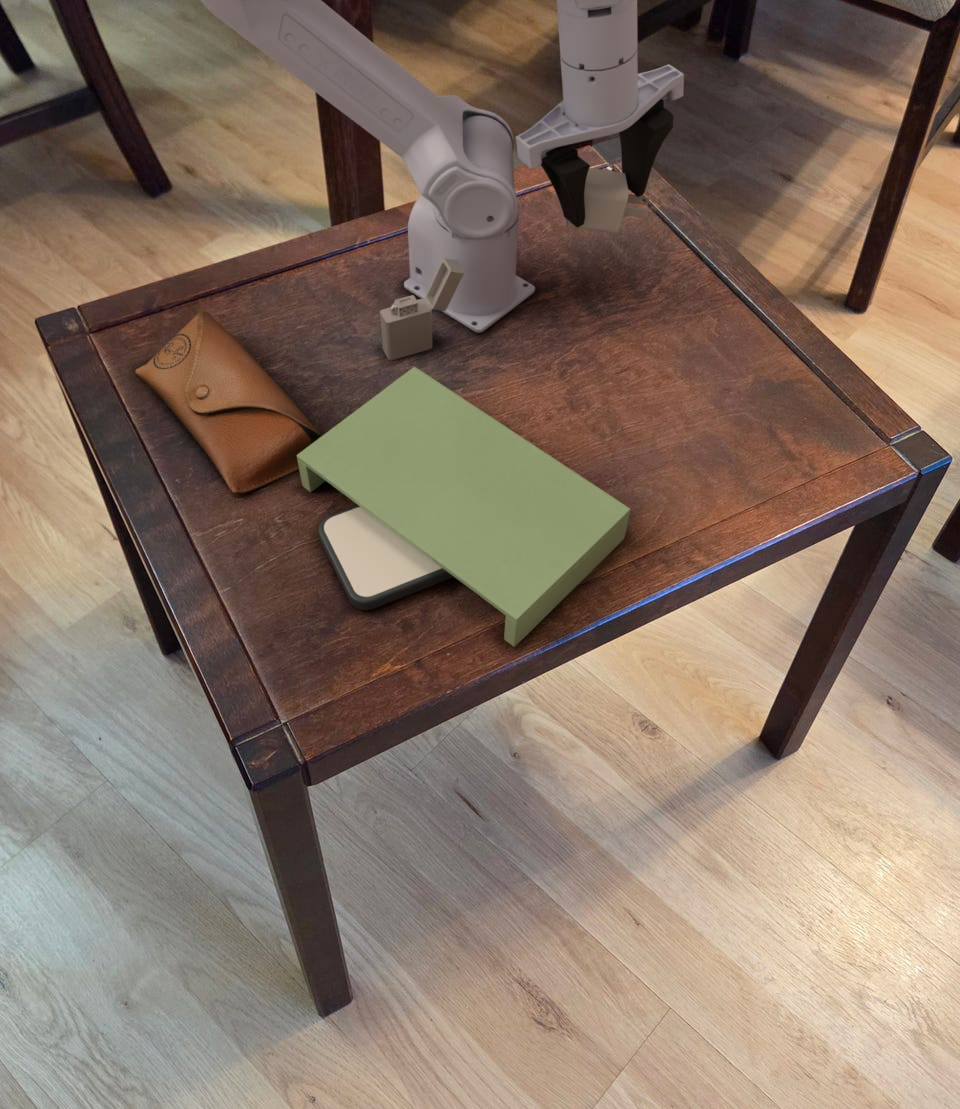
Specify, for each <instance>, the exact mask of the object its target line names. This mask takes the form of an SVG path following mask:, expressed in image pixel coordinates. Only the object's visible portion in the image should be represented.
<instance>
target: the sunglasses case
mask: <svg viewBox="0 0 960 1109" xmlns="http://www.w3.org/2000/svg"><path fill="white" fill-rule="evenodd" d="M134 373H135V375H136V376H137V377H138V378H139V379H140V380H141V381H143V383H145V384H146V385H147V386H148V387H149V388H151V389H152V390H153V391H154V392H155V393H156V394H157V395H158V397H160V398H161V399H162V400H163V401H164V403H166V405H167V406H168V407H169V408H170V409H171V411H172V412H173V413H174V415H175V416H176V417H177V418H178V419H179V421H180V422H181V423H182V424H183V425H184V427H185V428H186V429H187V430H188V433H190V434H191V435H192V437H193V438H194V439H195V441H196V442H197V444H199V445H200V447H201V448H202V449H203V451H204V452H205V454H206V455H207V457H209V459H210V460H211V461H212V463H213V464H214V466H215V468H216V469H217V471H218V472H219V474H220V476H221V477H222V479H223V481H224V482H225V484H226V486H227V488H228V489H229V491H230V492H231V493H232V494H234V495H235V494H236V495H242V494H248V493H249V492H252V491H255V490H258V489H260V488H263V487H265V486H268V485H270V484H273V483H274V482H277V481H279V480H281V479H283V478H285V477H287V476H290V475H291V474H293V473H296V472H297V471H299V465H298V459H297V455H298V454H299V453H300V452H302V451H303V450H304V449H306V448H307V447H308V446H310V445H311V444H312V443H314V442H315V441H316V440H318V439H319V438H320V437H322V436H323V435H322V434H321V432H319V431H318V430H317V428H315V427H314V425H313V424H312V423H311V421H310V420H309V419H308V418H307V417H306V415H305V414H304V413H303V412H302V411H301V409H300V408H299V407H298V406H297V405H296V403H295V402H293V400H292V399H291V398H290V396H288V394H287V393H286V392H285V391H284V390H283V389H282V388H281V386H279V384H277V383H276V381H275V380H274V379H273V378H272V377H271V376H270V375H269V374H268V373H267V372H266V370H265V369H264V368H263V367H262V366H261V365H260V364H259V363H258V362H257V360H255V359H254V357H252V355H251V354H250V353H249V352H248V351H247V350H246V349H245V348H244V346H243V345H242V344H241V343H240V342H239V341H238V340H237V339H236V338H235V337H234V336H233V335H232V334H231V333H230V332H229V331H228V330H227V329H225V327H224V326H223V325H222V324H221V323H220V322H218V321H217V320H216V319H215V318H214V317H213V316H212V315H211V313H210V312H208V311H207V310H205V309H203V308H199V309H197V314H196V315H195V316H194V317H193V318H192V319H190V321H189V322H188V323H187V324H186V325H184V326H183V328H182V329H180V330H179V332H177V333H176V334H175V335H174V336H173V337H172V338H171V339H170V340H169V341H168V342H167V343H166V344H165V345H164V346H163V347H162V348H161V349H160V350H159V351H158V352H157V353H156V354H155V355H154V356H153V357H151V359H150V360H149V361H147V363H146V364H143V365H141V366H139V367H137V368H136V369H135V371H134Z"/></svg>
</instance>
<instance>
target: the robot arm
mask: <svg viewBox="0 0 960 1109" xmlns="http://www.w3.org/2000/svg"><path fill="white" fill-rule="evenodd" d="M200 1H201V3H202V4H203V5H204V8H206V9H207V10H208V11H209V12H210V13H211V14H212V15H214V16H215V17H216V18H218V19H219V20H220V21H221V22H222V23H224V24H225V25H226V26H228V27H229V28H230V29H232V30H233V31H234V32H236V33H237V34H238V35H239V36H241V37H242V38H243V39H245V40H246V41H248V42H249V43H250V44H251V45H252V46H254V47H256V48H257V49H258V50H260V51H261V52H262V53H263V54H264V55H266V56H267V57H269V58H270V59H272V60H273V61H274V62H275V63H277V64H278V65H279V66H281V68H283V69H284V70H286V71H287V72H288V73H289V74H291V75H293V77H295V78H296V79H298V80H299V81H300V82H301V83H303V84H304V85H305V86H307V87H308V88H309V89H311V90H312V91H313V92H315V93H316V94H318V95H319V96H320V97H321V98H323V99H324V100H325V101H326V102H328V103H329V104H330V105H332V106H333V107H334V108H336V109H337V110H338V111H340V112H341V113H342V114H343V115H345V116H346V117H347V118H348V119H350V120H352V121H353V122H354V123H356V124H357V125H358V126H360V128H362V129H364V130H365V131H366V132H367V133H369V134H370V135H371V136H372V137H374V138H375V139H377V140H378V141H379V142H381V144H383V145H385V146H386V147H387V148H388V149H390V150H391V151H392V152H394V153H395V154H396V155H398V156H399V157H400V158H401V159H402V161H403V163H404V164H405V166H406V168H407V169H408V172H409V174H410V176H411V178H412V180H413V182H414V184H415V186H416V188H417V190H418V192H419V193H420V196H419V197H418V198H417V200H415V202H414V205H413V206H412V209H411V211H410V214H409V218H408V223H407V240H408V259H409V277H408V279H406V280H405V281H404V282H403V288H404V289H406V290H407V291H409V292H410V293H412V295H414V296H415V295H416V297H418V298H419V299H422V298H423V299H425V296H426V293H427V291H428V289H429V287H430V285H431V283H432V281H433V278H434V276H435V274H436V272H437V270H438V268H439V266H440V263H441V261H442V259H444V258H445V259H451V260H457V261H458V262H459V264H460V265H461V267H462V268H463V270H464V274H463V276H462V279H461V281H460V283H459V285H458V287H457V289H456V291H455V293H454V295H453V297H452V299H451V301H450V303H449V305H448V307H447V309H446V311H441V312H442V313H444V314H445V315H447V316H449V317H450V318H452V319H453V320H455V321H456V322H458V323H460V324H461V325H463V326H464V327H466V328H467V329H470V330H471V331H473V332H474V333H476V334H480V333H483V332H485V331H486V330H487V329H489V328H490V327H491V326H492V325H494V324H495V323H497V322H498V321H499V320H500V319H502V318H503V317H504V316H506V314H508V313H509V312H511V311H512V310H513V309H515V308H517V306H518V305H520V304H521V303H522V302H524V301H525V300H526V299H528V298H529V297H530V296H532V295H533V294H534V293H535V291H536V286H535V285H534V284H532V283H530V282H528V281H527V280H525V279H523V278H522V277H520V276H518V275H517V257H518V240H519V239H518V238H519V222H520V221H519V219H520V203H519V200H518V196H517V193H516V184H515V170H514V169H515V168H514V147H515V145H516V151H517V159H518V160H519V161H521V162H522V163H523V165H525V166H527V167H528V168H529V169H530V170H533V169H536V168H538V167H540V166H541V168H542V169H543V171H544V173H545V175H546V176H547V178H548V179H549V181H550V183H551V186H552V187H553V190H554V191H555V193H556V197H557V199H558V201H559V205H560V207H561V210H562V211H561V212H562V213H563V217H564V218H565V220H566V219H567V220H568V221H569V220H570V222H571V223H572V224H573V225H574V226H575V227H580V226H582V225H584V221H585V202H584V191H585V183H586V178H587V173H588V170H589V168H591V165H590V164H589V163H588V162H586V161H585V160H584V159H583V158H582V157H580V156H579V150H578V149H576V148H575V144H578V143H581V142H586V141H590V140H591V141H592V140H594V139H599V138H603V137H608V136H612V135H615V134H618V135H619V136H618V137H619V142H620V151H621V173H625V175H626V181H627V186H628V191H630V192H631V194H633V195H636V196H638V197H639V196H643V195H645V192H646V188H647V184H648V182H649V178H650V174H651V172H652V169H653V166H654V163H655V160H656V158H657V155H658V153H659V150H660V149H661V147H662V146H663V143H664V142H665V140H666V139H667V137H668V135H669V134H670V132H671V131H672V130H673V128H674V114H673V113H672V112H671V111H670V110H668V109H667V108H665V105H664V103H665V100H666V99H669V100H670V101H677V100H678V99H681V98H682V97H684V84H685V82H684V81H685V74H684V73H683V72H682V71H681V70H678V68H675V67H674V66H673V65H671V64H667V65H664V66H661V67H659V68H656V69H652V70H649V71H645V72H644V71H643V72H638V70H639V69H638V68H639V67H638V63H639V62H638V61H639V60H638V58H639V57H638V46H639V44H638V43H639V42H638V0H556V11H557V25H558V26H557V27H558V41H559V42H558V43H559V57H560V71H561V84H562V85H561V86H562V98H563V99H562V101H560V102H559V103H558V104H557V105H555V107H553V109H551V110H550V111H549V112H548V113H546V114H545V115H544V116H543V117H541V119H539V121H537V122H536V123H535V124H533V125H532V126H531V127H530V128H529V129H527V130H525V131H524V132H522V133H520V134H518V135H516V136H515V138H514V134H513V132H512V129H511V127H510V125H509V124H508V123H507V121H505V119H504V118H503V117H501V115H498V113H497V114H496V113H495V112H493V111H490V110H487V109H481V108H477V107H474V106H472V105H471V104H469V103H467V102H466V101H465V100H463V99H462V98H461V97H460V96H459V95H456V94H450V95H449V94H448V95H437V94H436V93H434V91H432V90H431V89H430V88H429V87H427V86H426V85H425V84H424V83H422V82H421V81H420V80H419V79H418V78H417V77H415V76H414V75H413V74H412V73H410V72H409V71H408V70H407V69H406V68H404V67H403V66H402V65H400V64H399V63H398V62H397V61H395V60H394V58H392V57H391V56H389V54H387V53H386V52H385V51H383V50H382V49H381V48H380V47H378V46H377V45H376V44H375V43H374V42H372V41H371V39H369V38H368V37H367V36H365V35H364V34H363V33H361V32H360V30H358V29H357V28H355V27H354V26H353V25H352V24H350V23H349V22H348V21H347V20H346V19H345V18H343V17H342V16H341V15H340V14H339V13H337V12H336V11H335V10H334V9H332V8H331V7H330V6H329V5H327V3H325V1H323V0H200ZM515 142H516V144H515Z"/></svg>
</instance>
